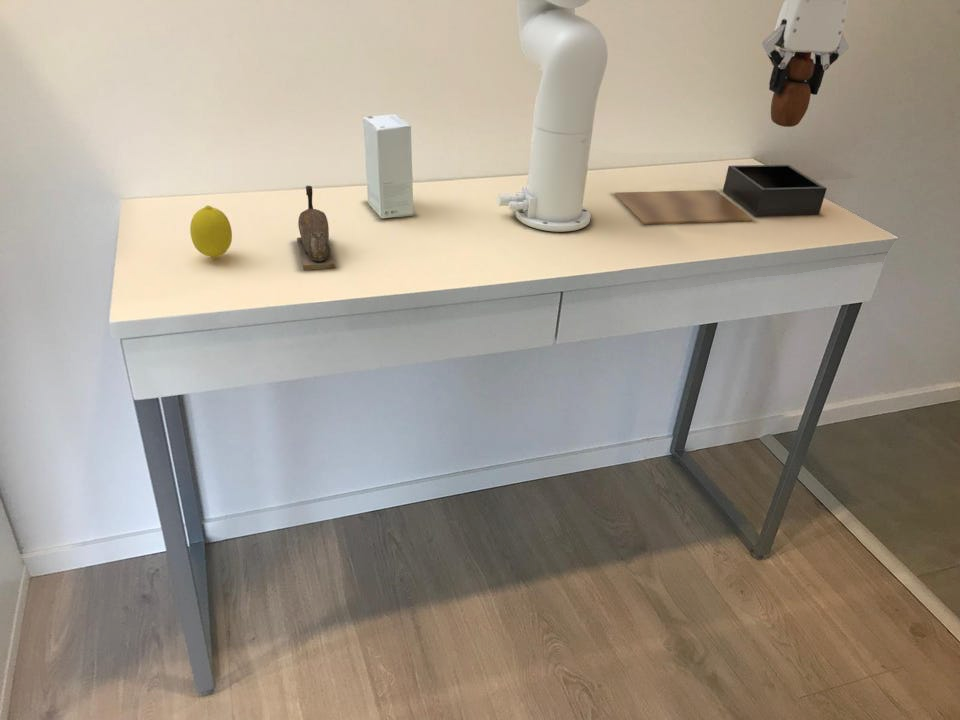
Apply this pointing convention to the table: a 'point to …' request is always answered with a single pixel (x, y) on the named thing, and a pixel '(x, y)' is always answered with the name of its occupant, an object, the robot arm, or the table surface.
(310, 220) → the figurine
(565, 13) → the robot arm
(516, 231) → the table surface
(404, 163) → the cosmetic box
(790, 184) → the box
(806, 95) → the wooden figurine
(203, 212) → the lemon
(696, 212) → the brown wooden board
